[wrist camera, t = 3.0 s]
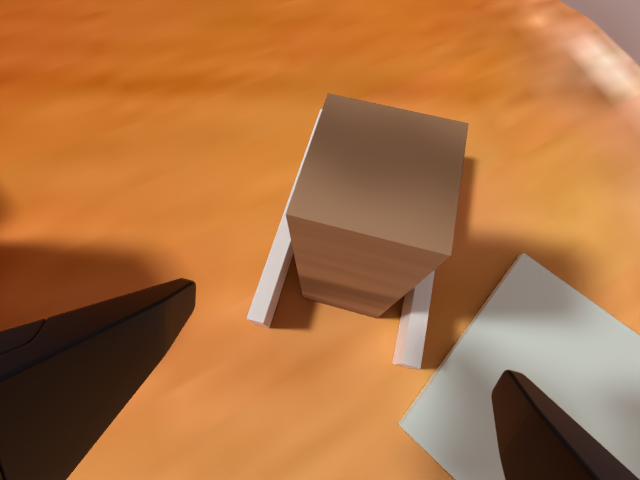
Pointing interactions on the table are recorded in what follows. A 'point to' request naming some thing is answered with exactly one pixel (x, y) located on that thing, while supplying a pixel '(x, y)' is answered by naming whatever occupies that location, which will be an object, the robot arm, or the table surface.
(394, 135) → the post
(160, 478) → the table surface
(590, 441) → the robot arm
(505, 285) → the plate
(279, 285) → the channel
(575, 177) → the table surface
